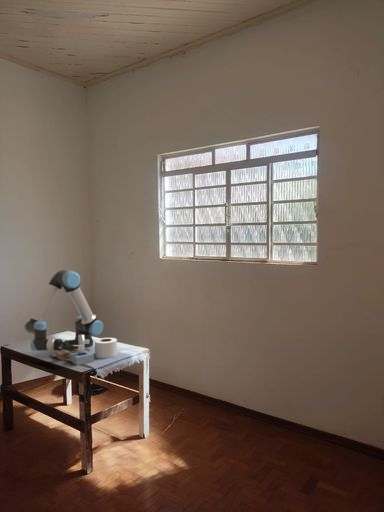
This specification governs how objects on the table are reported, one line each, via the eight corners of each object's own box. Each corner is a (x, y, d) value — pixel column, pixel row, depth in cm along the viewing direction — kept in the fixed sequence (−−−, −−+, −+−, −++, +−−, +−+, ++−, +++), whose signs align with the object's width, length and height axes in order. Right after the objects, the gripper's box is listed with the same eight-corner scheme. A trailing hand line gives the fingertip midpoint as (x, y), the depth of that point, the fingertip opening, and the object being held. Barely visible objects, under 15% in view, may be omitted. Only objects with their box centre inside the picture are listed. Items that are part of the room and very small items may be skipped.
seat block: (86, 357, 258) (86, 350, 258) (94, 361, 249) (93, 354, 248) (69, 361, 250) (69, 353, 250) (77, 365, 241) (76, 357, 241)
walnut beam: (83, 351, 272) (82, 346, 272) (88, 354, 264) (88, 349, 264) (55, 357, 259) (55, 351, 259) (61, 360, 251) (61, 354, 251)
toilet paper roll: (90, 355, 262) (90, 340, 262) (108, 350, 274) (108, 336, 274) (103, 359, 252) (103, 344, 252) (121, 354, 264) (121, 339, 263)
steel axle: (83, 359, 252) (82, 333, 251) (85, 361, 249) (85, 335, 248) (77, 361, 249) (77, 334, 249) (80, 362, 246) (79, 336, 246)
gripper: (61, 345, 261) (91, 344, 261) (48, 355, 236) (81, 355, 237) (61, 334, 261) (91, 334, 261) (47, 344, 236) (80, 344, 236)
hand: (86, 344), depth 249 cm, fingers open, 13 cm apart
